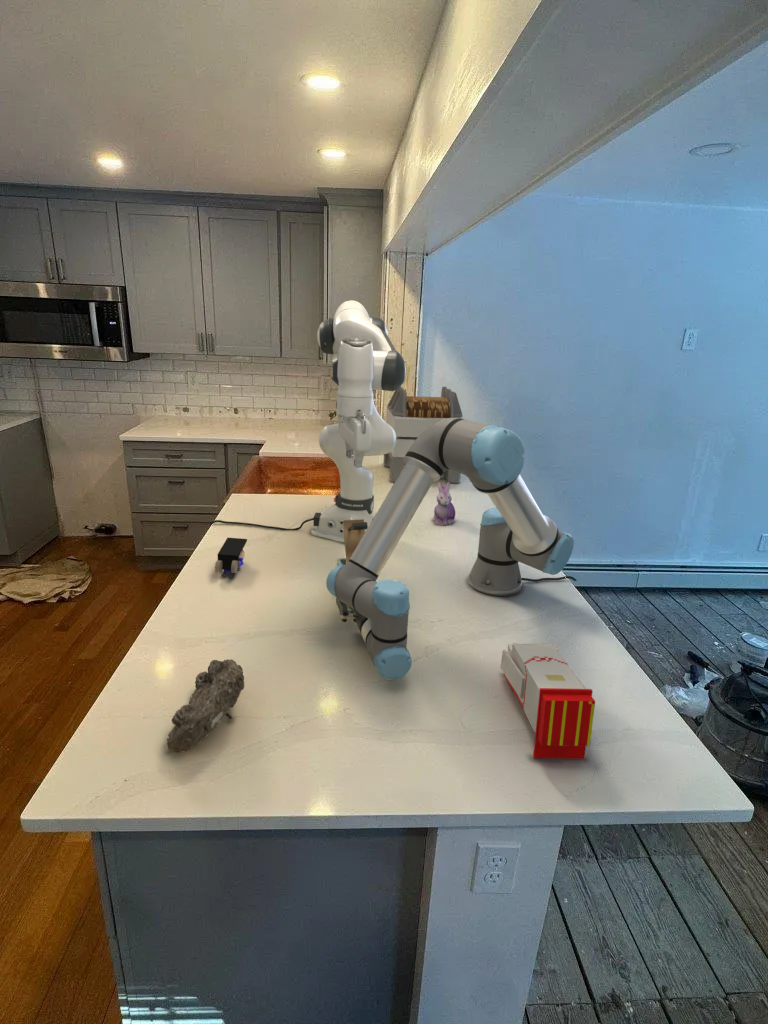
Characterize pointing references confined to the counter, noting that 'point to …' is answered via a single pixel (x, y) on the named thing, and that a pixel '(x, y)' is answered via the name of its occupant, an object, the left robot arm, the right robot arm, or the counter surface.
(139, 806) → the counter surface
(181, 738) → the fossil
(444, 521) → the figurine
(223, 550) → the figurine character
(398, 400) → the transformer
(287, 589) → the counter surface
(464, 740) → the counter surface
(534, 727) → the toy
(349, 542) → the lid
